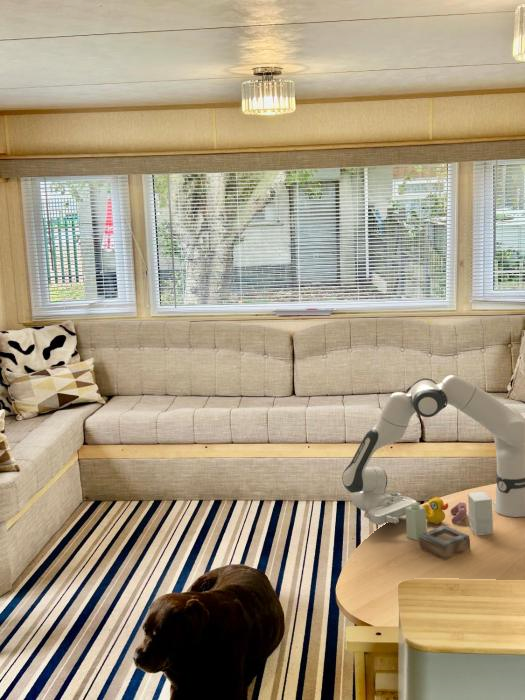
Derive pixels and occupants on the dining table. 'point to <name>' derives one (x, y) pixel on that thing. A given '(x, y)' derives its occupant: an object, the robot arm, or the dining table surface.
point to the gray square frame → (444, 542)
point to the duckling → (435, 510)
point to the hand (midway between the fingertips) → (407, 517)
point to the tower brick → (415, 521)
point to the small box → (480, 513)
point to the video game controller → (459, 512)
